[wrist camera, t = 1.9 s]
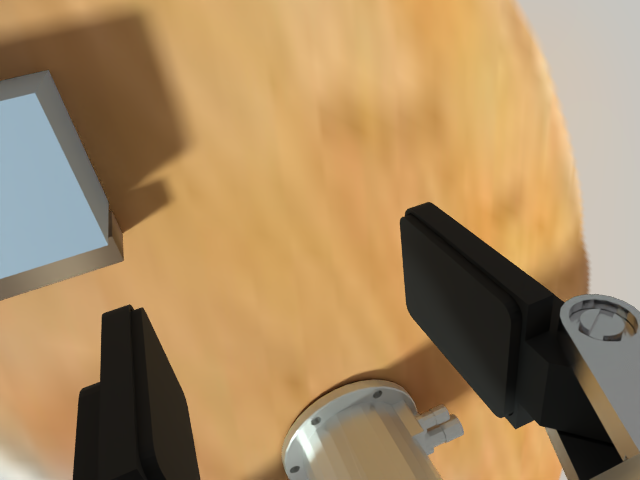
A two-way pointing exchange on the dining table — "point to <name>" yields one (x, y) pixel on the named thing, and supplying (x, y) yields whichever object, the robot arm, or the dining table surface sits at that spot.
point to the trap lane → (67, 265)
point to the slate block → (44, 180)
